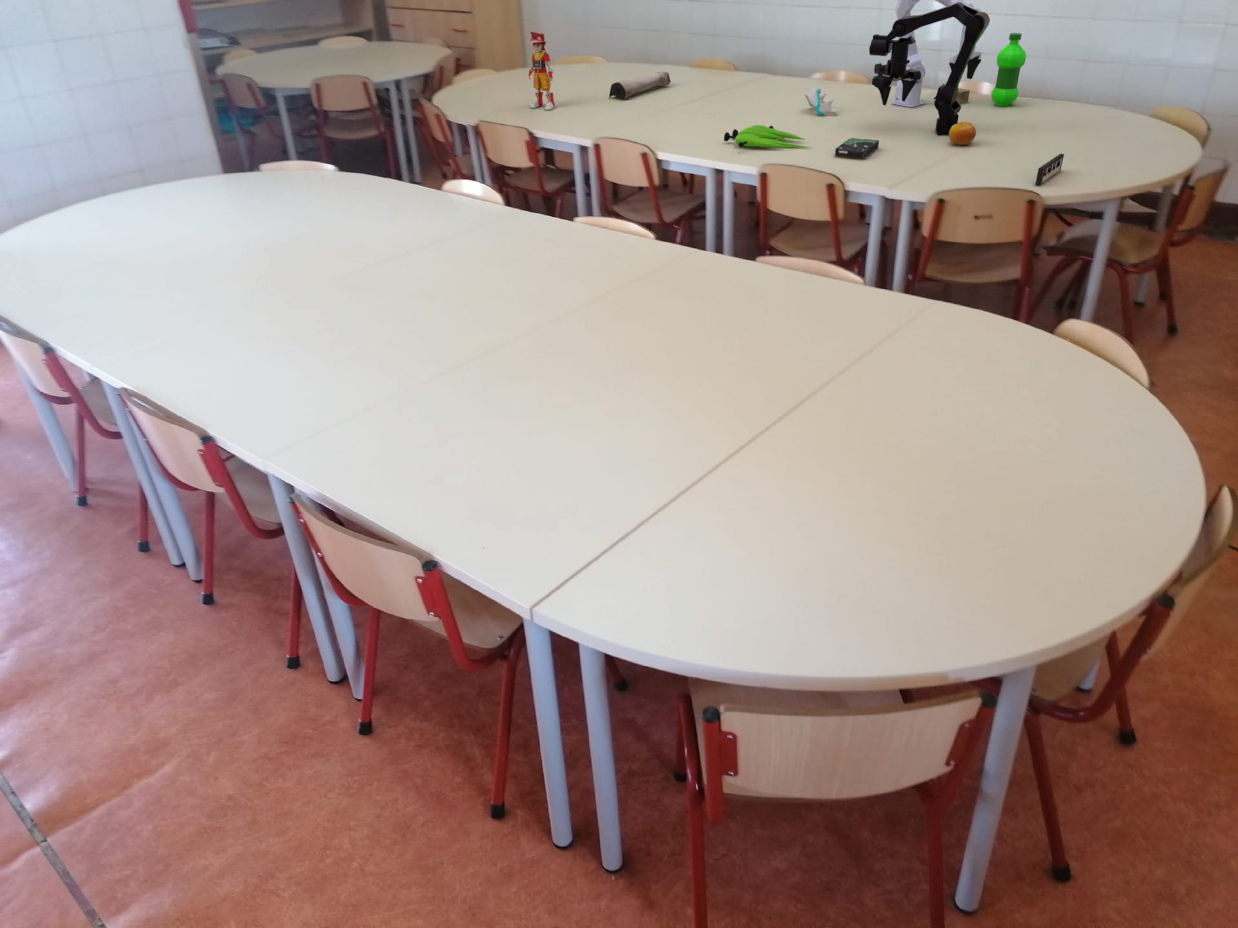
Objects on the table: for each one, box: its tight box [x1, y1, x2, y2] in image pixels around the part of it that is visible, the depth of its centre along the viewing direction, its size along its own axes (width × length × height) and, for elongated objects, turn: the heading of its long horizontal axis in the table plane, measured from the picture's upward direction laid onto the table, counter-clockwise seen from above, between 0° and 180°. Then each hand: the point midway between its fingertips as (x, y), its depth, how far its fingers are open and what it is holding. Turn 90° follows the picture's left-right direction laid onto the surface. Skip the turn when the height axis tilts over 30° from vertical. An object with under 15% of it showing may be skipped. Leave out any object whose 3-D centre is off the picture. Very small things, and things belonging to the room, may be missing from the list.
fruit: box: [948, 121, 977, 146], centre depth 306 cm, size 8×8×8 cm
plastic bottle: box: [991, 32, 1027, 107], centre depth 341 cm, size 10×10×25 cm
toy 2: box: [723, 124, 807, 148], centre depth 319 cm, size 28×5×30 cm
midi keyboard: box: [1035, 153, 1065, 186], centre depth 273 cm, size 18×1×5 cm, turn 138°
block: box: [956, 87, 971, 105], centre depth 354 cm, size 5×5×4 cm
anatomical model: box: [804, 85, 838, 116], centre depth 351 cm, size 15×10×10 cm
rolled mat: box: [608, 71, 672, 101], centre depth 395 cm, size 30×9×10 cm
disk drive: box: [834, 137, 880, 159], centre depth 305 cm, size 10×3×15 cm
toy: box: [527, 31, 556, 111], centre depth 374 cm, size 12×9×30 cm
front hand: (893, 103), depth 325 cm, fingers open, 9 cm apart
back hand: (962, 80), depth 350 cm, fingers open, 7 cm apart
